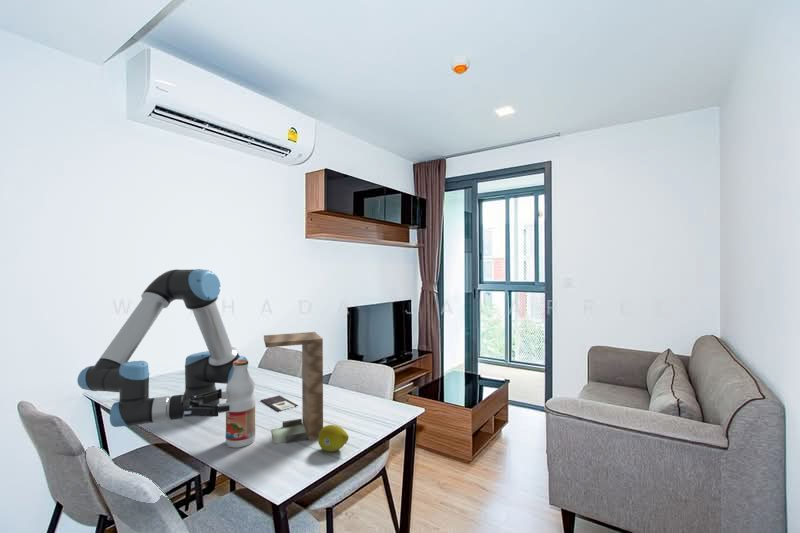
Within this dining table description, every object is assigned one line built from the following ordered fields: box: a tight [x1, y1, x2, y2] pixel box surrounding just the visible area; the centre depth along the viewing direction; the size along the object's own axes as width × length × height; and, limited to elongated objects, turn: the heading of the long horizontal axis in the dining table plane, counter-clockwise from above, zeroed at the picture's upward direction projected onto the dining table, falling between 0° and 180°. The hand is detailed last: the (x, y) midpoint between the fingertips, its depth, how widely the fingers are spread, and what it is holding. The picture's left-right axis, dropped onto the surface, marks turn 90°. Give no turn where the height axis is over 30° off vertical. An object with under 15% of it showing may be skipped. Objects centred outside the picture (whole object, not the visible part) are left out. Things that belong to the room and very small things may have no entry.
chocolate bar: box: [260, 394, 299, 413], centre depth 166 cm, size 9×1×18 cm
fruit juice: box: [225, 359, 256, 448], centre depth 130 cm, size 9×9×28 cm
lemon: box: [317, 424, 349, 453], centre depth 123 cm, size 11×8×8 cm
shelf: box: [263, 331, 324, 444], centre depth 136 cm, size 19×16×35 cm
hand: (241, 399), depth 129 cm, fingers open, 13 cm apart
